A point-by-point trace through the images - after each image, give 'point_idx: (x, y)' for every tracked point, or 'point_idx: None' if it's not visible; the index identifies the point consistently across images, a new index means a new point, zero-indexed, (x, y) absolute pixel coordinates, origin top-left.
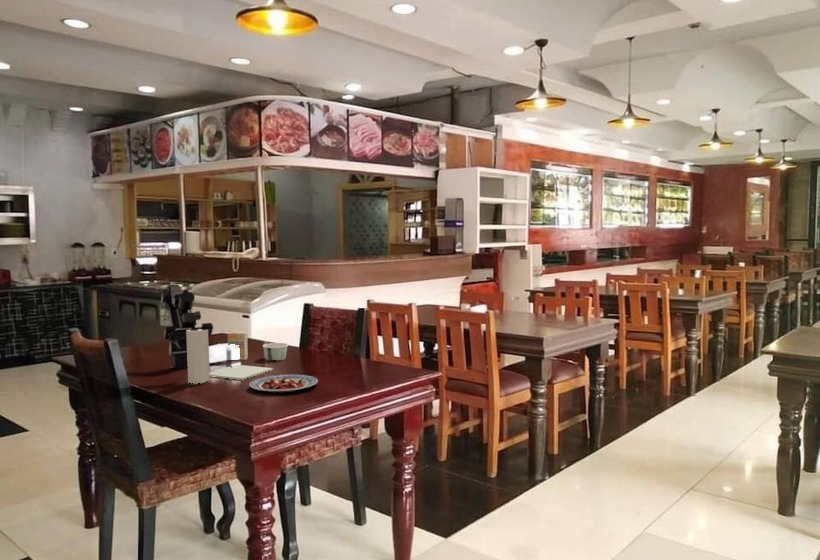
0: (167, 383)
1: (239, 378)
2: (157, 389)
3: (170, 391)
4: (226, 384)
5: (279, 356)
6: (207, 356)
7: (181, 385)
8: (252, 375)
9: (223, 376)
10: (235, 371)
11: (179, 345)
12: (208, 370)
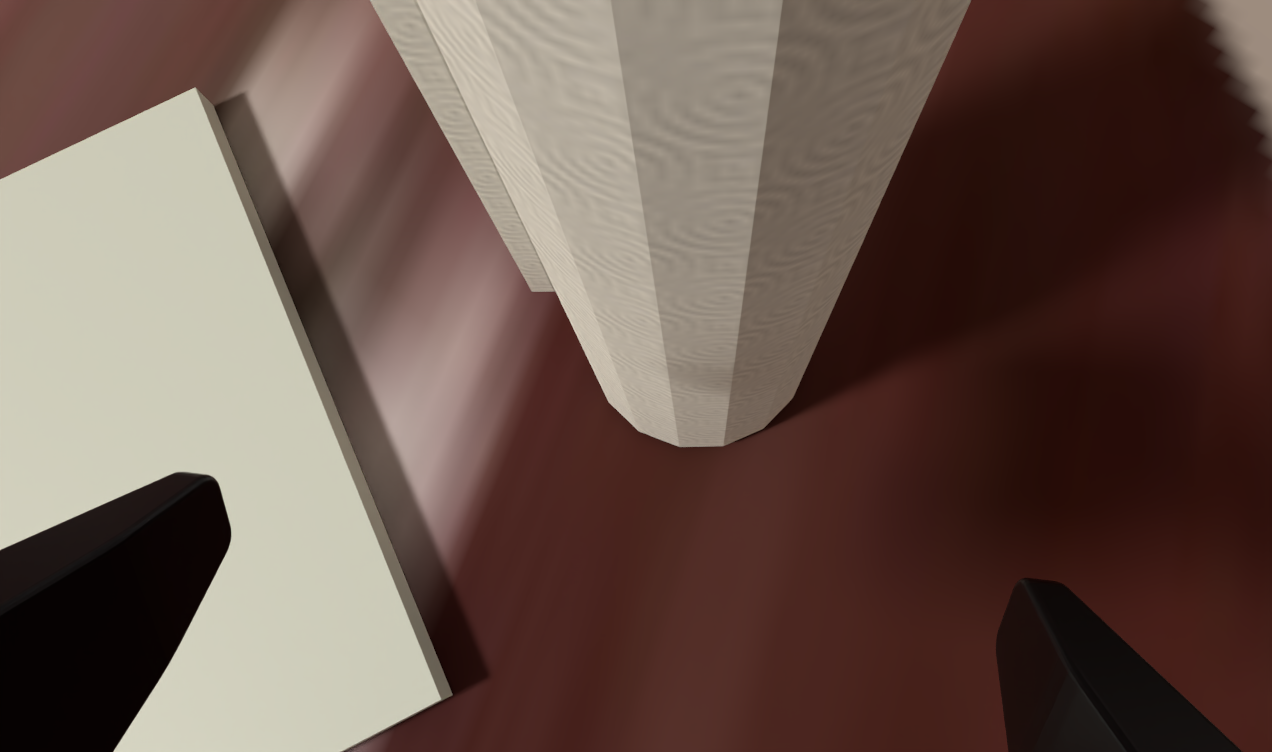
0: None
1: (213, 124)
2: (1252, 313)
3: (1109, 108)
4: None
5: None
6: (449, 81)
7: (909, 332)
8: (11, 182)
9: (302, 346)
10: (22, 529)
11: (1110, 635)
12: (510, 222)
